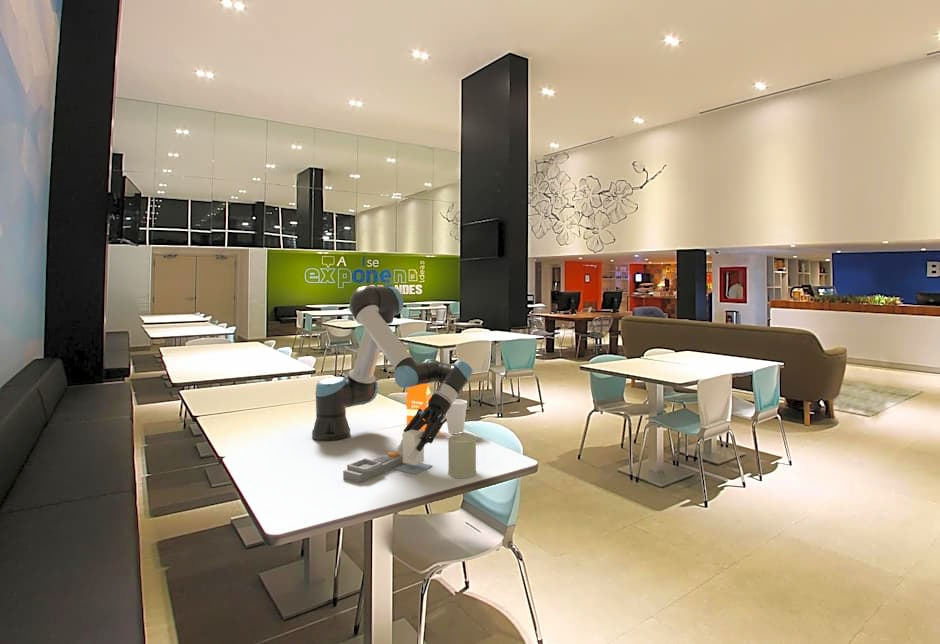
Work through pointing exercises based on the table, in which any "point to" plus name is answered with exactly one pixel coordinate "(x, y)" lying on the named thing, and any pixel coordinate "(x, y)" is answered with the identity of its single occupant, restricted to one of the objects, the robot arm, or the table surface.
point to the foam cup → (456, 416)
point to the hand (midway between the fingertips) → (404, 455)
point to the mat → (413, 468)
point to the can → (462, 456)
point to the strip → (372, 467)
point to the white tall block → (408, 444)
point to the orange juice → (417, 400)
